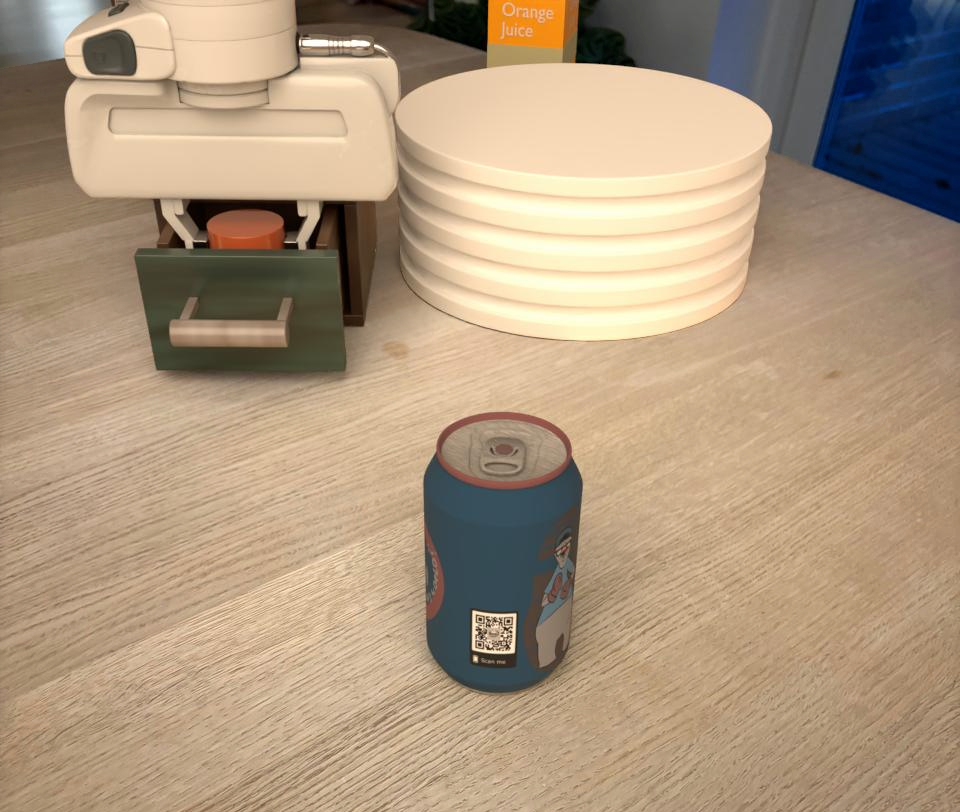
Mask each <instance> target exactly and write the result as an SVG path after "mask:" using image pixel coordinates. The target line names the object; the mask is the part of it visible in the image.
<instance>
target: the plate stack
mask: <svg viewBox="0 0 960 812" xmlns="http://www.w3.org/2000/svg"><path fill="white" fill-rule="evenodd" d="M771 120H772V119H771V118H770V117H769V115H768V113H767V112H765V110H764V109H763V108H762V107H760V105H758V104H757V103H755V102H754V101H752V100H751V99H749V98H748V97H746V96H744V95H742V94H740V93H738V92H736V91H734V90H731V89H729V88H726V87H725V86H721V85H718V84H715V83H713V82H712V83H711V82H709V81H706V80H702V79H699V78H694V77H692V76H691V77H690V76H686V75H682V74H678V73H672V72H668V71H662V70H655V69H650V68H642V67H633V66H626V65H625V66H624V65H616V64H615V65H614V64H613V65H612V64H603V63H600V64H599V63H583V62H582V63H581V62H580V63H577V62H575V63H542V64H523V65H510V66H501V67H493V68H487V67H486V68H479V69H474V70H469V71H464V72H460V73H456V74H452V75H448V76H444V77H442V78H439V79H435V80H433V81H430V82H428V83H425V84H422V85H421V86H419V87H417V88H415V89H414V90H412V91H411V92H409V93H408V94H406V95H405V96H404V97H403V98H402V99H400V101H399V104H398V107H397V108H396V110H395V111H394V129H395V136H396V140H397V143H396V144H397V154H398V183H397V186H396V188H397V204H398V208H399V212H398V237H399V241H400V244H399V267H401V268H400V272H401V271H402V272H401V275H402V278H403V279H404V281H405V283H406V284H407V285H408V287H409V288H410V289H411V290H412V292H414V293H415V294H416V295H417V296H418V297H420V298H421V299H422V300H423V301H425V302H426V303H427V304H428V305H430V306H432V307H434V308H436V309H438V310H439V311H441V312H443V313H445V314H447V315H449V316H452V317H454V318H457V319H458V320H462V321H464V322H468V323H470V324H473V325H476V326H480V327H482V328H485V329H486V328H487V329H490V330H494V331H497V332H503V333H507V334H511V335H512V334H513V335H517V336H522V337H523V336H524V337H529V338H531V337H532V338H539V339H546V340H547V339H548V340H559V341H575V342H576V341H579V342H581V341H582V342H583V341H585V342H586V341H587V342H591V341H593V342H594V341H595V342H596V341H597V342H598V341H618V340H620V341H621V340H631V339H639V338H640V339H641V338H644V337H646V338H647V337H652V336H657V335H662V334H667V333H672V332H677V331H679V330H683V329H687V328H690V327H693V326H695V325H698V324H700V323H703V322H705V321H708V320H709V319H711V318H714V317H715V316H717V315H719V314H720V313H722V312H723V311H725V310H726V309H728V308H729V307H730V306H731V305H733V304H734V303H735V302H736V301H737V300H738V298H739V297H740V295H741V294H742V293H743V290H744V289H745V286H746V283H747V277H748V273H749V272H748V271H749V263H750V262H749V258H750V256H751V253H752V250H753V249H752V247H753V245H754V244H753V242H754V236H755V224H756V222H757V220H758V214H759V208H760V205H761V195H760V192H761V190H762V187H763V185H764V180H765V175H766V170H767V160H766V156H767V155H768V153H769V151H770V145H771V141H772V134H773V124H772V121H771Z"/></svg>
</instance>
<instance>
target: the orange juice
mask: <svg viewBox="0 0 960 812" xmlns="http://www.w3.org/2000/svg"><path fill="white" fill-rule="evenodd" d="M487 2H488V4H487V7H488V8H487V9H488V11H487V12H488V13H487V14H488V15H487V17H488V18H487V44H486V46H487V47H486V49H487V50H486V68H493V67H501V66H510V65H523V64H542V63H576V56H577V44H578V29H579V28H578V24H579V7H580V5H579V4H580V0H488V1H487Z"/></svg>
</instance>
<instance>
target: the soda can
mask: <svg viewBox="0 0 960 812" xmlns="http://www.w3.org/2000/svg"><path fill="white" fill-rule="evenodd" d="M583 489H584V482H583V477H582V474H581V472H580V470H579V467H578V465H577V464H576V461H575V459H574V458H573V448H572V442H571V441H570V438H569V437H568V436H567V433H565V432H564V431H563V430H562V429H561V428H560V427H558V426H557V425H556V424H554V423H552V422H551V421H548V420H546V419H543V418H541V417H539V416H535V415H531V414H526V413H521V412H514V411H513V412H512V411H489V412H483V413H476V414H472V415H469V416H466V417H463V418H461V419H458V420H456V421H454V422H453V423H451V424H449V425H448V426H447V427H445V428H444V429H443V430H442V431H441V433H440V434H439V436H438V438H437V442H436V450H435V452H434V454H433V456H432V458H431V459H430V461H429V463H428V464H427V467H426V469H425V471H424V475H423V480H422V490H423V493H422V494H423V535H424V536H423V537H424V539H423V540H424V542H423V543H424V579H425V580H424V581H425V582H424V584H425V585H424V586H425V630H426V631H425V632H426V634H425V635H426V643H427V647H428V650H429V652H430V654H431V656H432V658H433V659H434V661H435V662H436V663H437V665H438V666H439V667H440V668H441V669H442V670H443V672H444V673H445V674H447V676H448V677H449V678H450V679H451V680H452V681H454V682H455V683H456V684H457V685H459V686H461V687H463V688H464V689H466V690H469V691H472V692H474V693H478V694H482V695H488V696H509V695H510V696H512V695H516V694H521V693H523V692H526V691H529V690H532V689H533V688H535V687H537V686H538V685H539V684H541V683H542V682H543V681H545V679H547V678H548V677H549V676H550V675H551V674H552V673H553V672H554V671H555V670H556V669H557V668H558V667H559V666H560V665H561V663H562V662H563V660H564V659H565V657H566V656H567V653H568V650H569V648H570V643H571V630H572V619H573V607H574V595H575V586H576V585H575V584H576V573H577V559H578V549H579V539H580V537H579V536H580V526H581V525H580V523H581V513H582V501H583Z"/></svg>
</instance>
